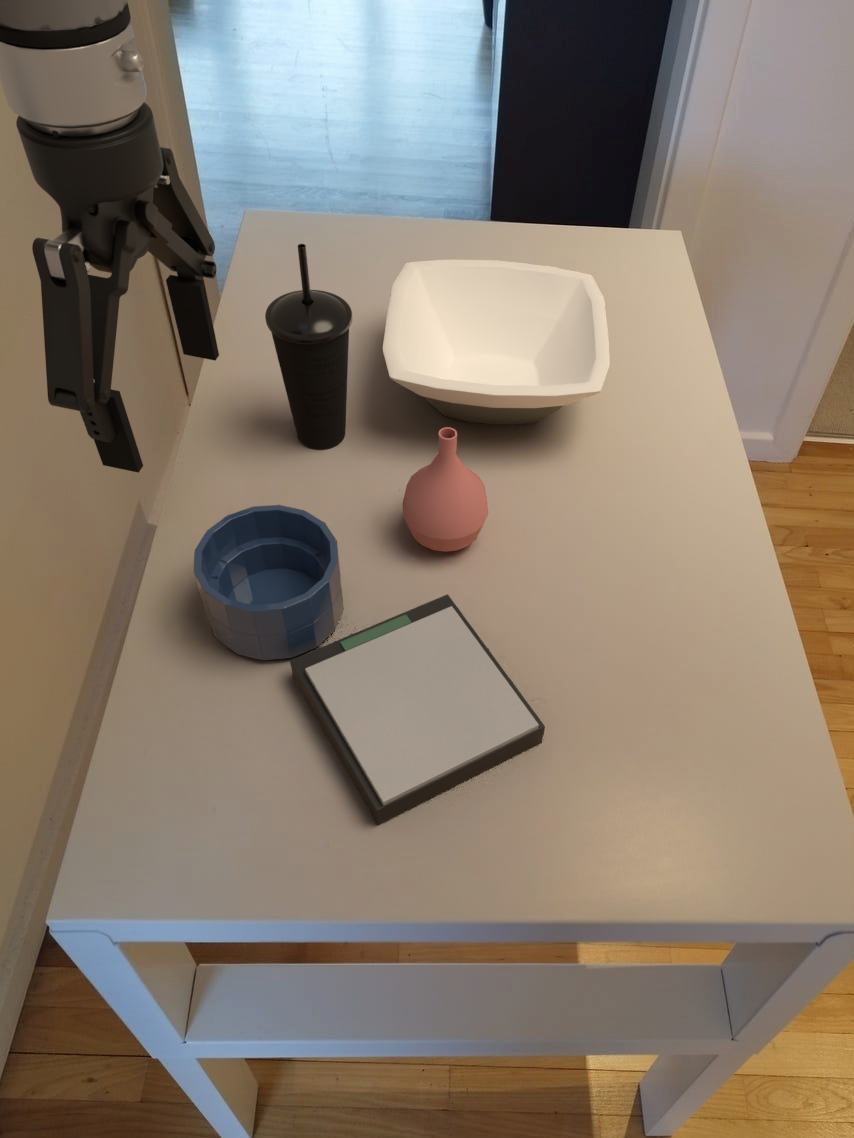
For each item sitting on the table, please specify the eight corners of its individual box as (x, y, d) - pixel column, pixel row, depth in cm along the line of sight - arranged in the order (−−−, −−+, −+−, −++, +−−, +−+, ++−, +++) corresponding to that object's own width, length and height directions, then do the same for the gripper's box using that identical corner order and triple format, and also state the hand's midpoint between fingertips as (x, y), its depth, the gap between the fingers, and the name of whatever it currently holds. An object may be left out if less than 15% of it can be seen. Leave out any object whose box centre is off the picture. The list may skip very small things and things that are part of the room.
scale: (292, 677, 74) (288, 655, 71) (447, 611, 79) (448, 589, 76) (377, 826, 66) (376, 807, 64) (542, 742, 71) (546, 722, 69)
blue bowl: (190, 590, 78) (173, 534, 73) (310, 545, 82) (302, 488, 77) (240, 684, 73) (225, 631, 67) (365, 631, 77) (361, 577, 71)
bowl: (590, 334, 104) (602, 266, 98) (600, 470, 91) (614, 401, 84) (398, 321, 104) (397, 252, 97) (378, 456, 90) (375, 386, 83)
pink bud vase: (470, 575, 81) (477, 475, 72) (390, 553, 82) (387, 451, 73) (495, 517, 86) (505, 415, 76) (419, 497, 87) (419, 394, 77)
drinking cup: (340, 467, 89) (324, 279, 73) (269, 447, 90) (238, 258, 74) (371, 420, 93) (362, 233, 77) (303, 402, 94) (280, 214, 78)
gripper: (29, 226, 44) (136, 531, 61) (229, 36, 59) (271, 323, 76) (-112, 201, 45) (33, 509, 62) (121, 19, 60) (187, 307, 77)
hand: (164, 407), depth 69 cm, fingers open, 13 cm apart
